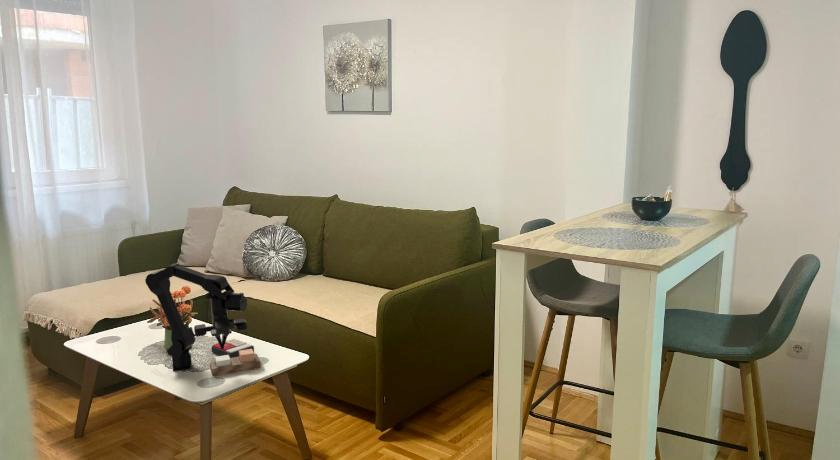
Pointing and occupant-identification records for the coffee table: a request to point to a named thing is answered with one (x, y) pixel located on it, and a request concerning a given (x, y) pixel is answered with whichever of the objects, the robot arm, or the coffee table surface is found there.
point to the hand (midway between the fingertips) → (222, 348)
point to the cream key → (222, 360)
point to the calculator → (231, 348)
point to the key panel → (235, 366)
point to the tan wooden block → (246, 355)
